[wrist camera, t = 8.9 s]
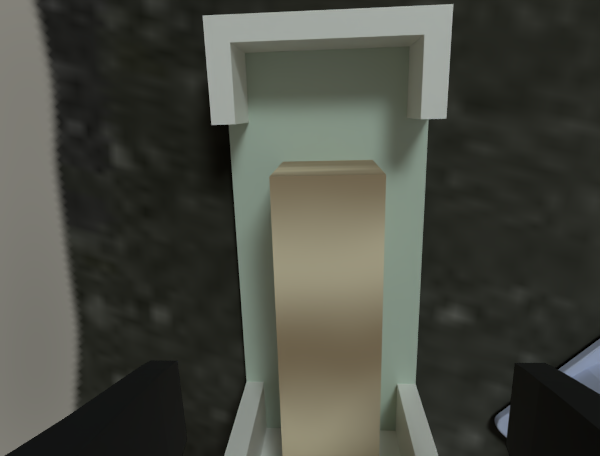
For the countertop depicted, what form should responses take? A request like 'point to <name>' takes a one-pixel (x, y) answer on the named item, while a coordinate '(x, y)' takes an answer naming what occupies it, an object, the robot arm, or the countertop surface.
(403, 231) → the endcap rail
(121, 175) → the countertop surface
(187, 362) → the countertop surface
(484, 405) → the countertop surface
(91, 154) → the countertop surface
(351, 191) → the tan rectangular block
